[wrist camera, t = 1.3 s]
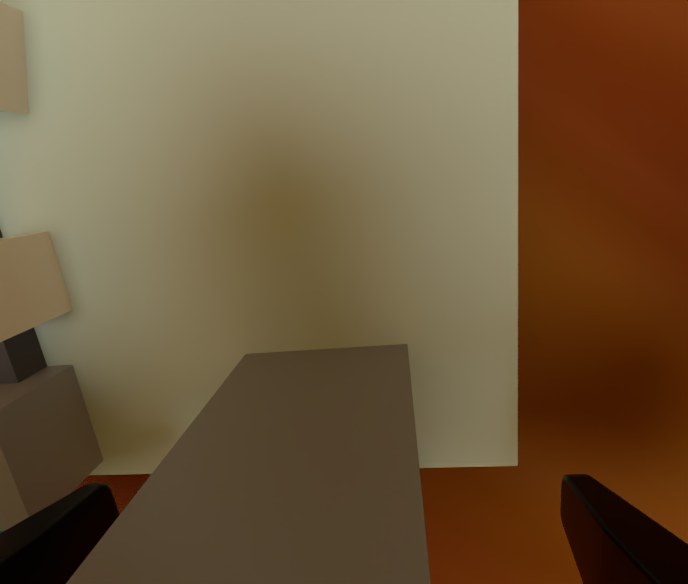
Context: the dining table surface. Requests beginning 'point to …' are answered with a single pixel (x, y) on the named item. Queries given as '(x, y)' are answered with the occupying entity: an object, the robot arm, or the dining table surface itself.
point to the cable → (20, 356)
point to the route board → (273, 203)
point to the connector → (283, 481)
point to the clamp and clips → (21, 315)
